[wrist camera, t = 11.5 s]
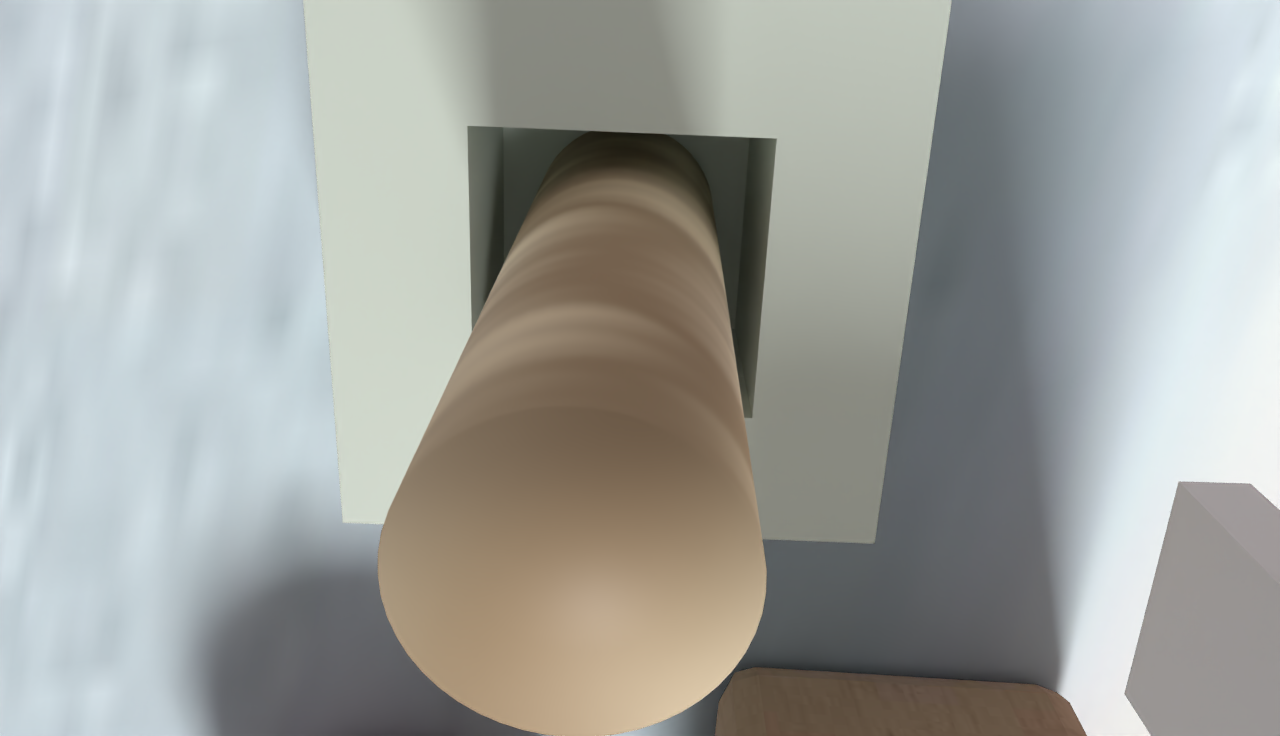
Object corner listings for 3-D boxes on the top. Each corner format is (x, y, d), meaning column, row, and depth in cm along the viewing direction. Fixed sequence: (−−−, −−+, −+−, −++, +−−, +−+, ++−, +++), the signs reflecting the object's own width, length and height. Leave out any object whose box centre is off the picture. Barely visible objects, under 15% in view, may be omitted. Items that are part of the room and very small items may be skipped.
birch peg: (538, 290, 26) (388, 727, 12) (538, 120, 24) (365, 397, 10) (707, 298, 26) (751, 745, 12) (718, 127, 24) (783, 415, 10)
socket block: (403, 401, 28) (342, 522, 23) (381, -57, 24) (299, -46, 18) (830, 419, 28) (874, 543, 23) (884, -36, 24) (954, -19, 18)
